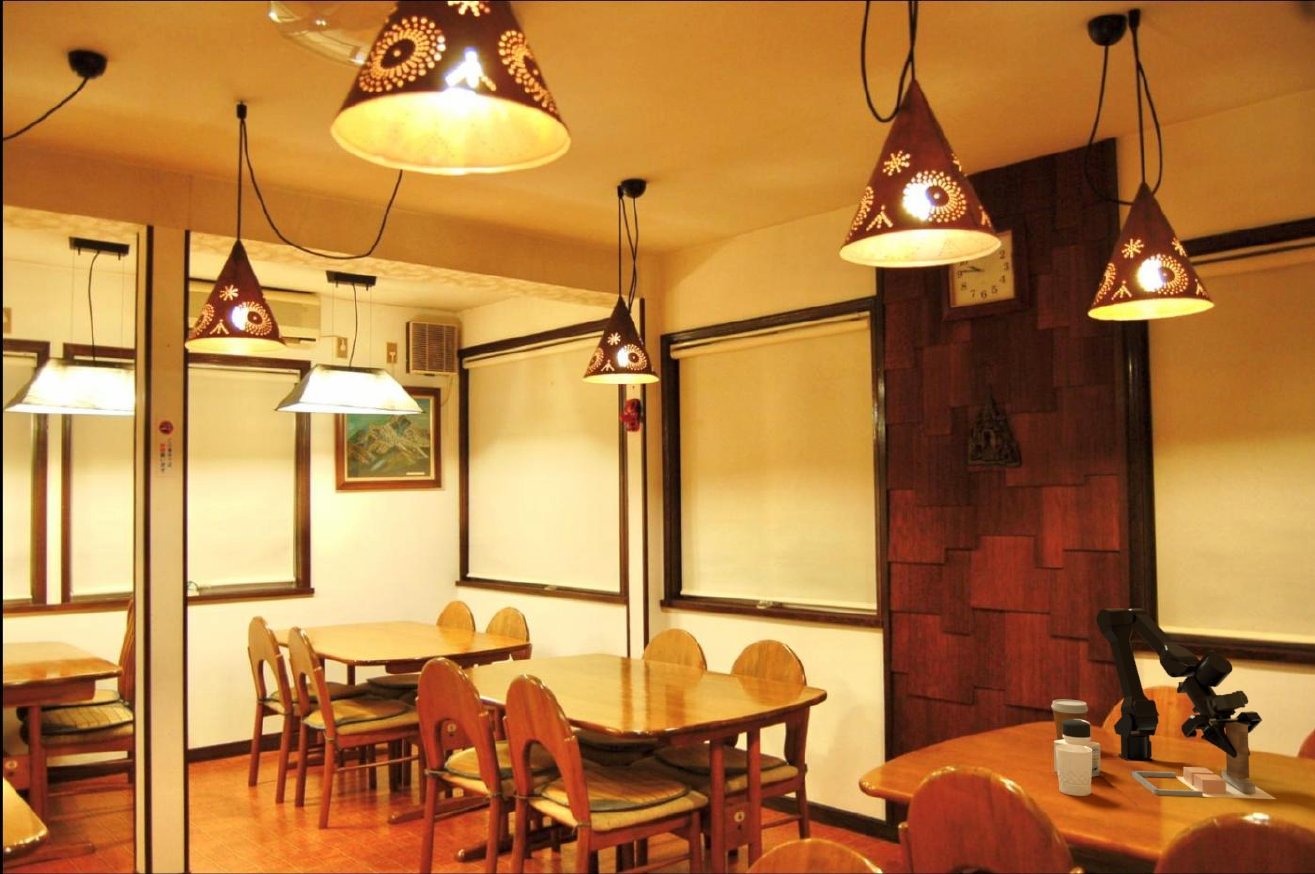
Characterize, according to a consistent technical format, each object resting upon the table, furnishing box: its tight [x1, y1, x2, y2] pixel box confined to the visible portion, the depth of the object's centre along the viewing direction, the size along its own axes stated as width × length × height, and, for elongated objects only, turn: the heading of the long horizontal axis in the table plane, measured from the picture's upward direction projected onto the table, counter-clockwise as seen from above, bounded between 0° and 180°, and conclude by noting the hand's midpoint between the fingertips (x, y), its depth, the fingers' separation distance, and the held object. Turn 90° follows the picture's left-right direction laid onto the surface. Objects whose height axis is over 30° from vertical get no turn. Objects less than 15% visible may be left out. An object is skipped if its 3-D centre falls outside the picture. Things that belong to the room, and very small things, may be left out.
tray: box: [1130, 770, 1204, 798], centre depth 241 cm, size 10×17×2 cm, turn 173°
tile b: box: [1182, 766, 1215, 786], centre depth 244 cm, size 5×5×3 cm
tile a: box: [1194, 774, 1226, 794], centre depth 237 cm, size 5×5×3 cm
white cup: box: [1056, 744, 1092, 797], centre depth 240 cm, size 8×8×10 cm
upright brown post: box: [1221, 722, 1256, 793], centre depth 240 cm, size 4×12×14 cm, turn 173°
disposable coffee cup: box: [1050, 699, 1089, 740], centre depth 285 cm, size 10×10×12 cm
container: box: [1053, 719, 1102, 777], centre depth 257 cm, size 8×8×13 cm
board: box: [1176, 776, 1277, 800], centre depth 240 cm, size 16×17×1 cm
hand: (1242, 756), depth 239 cm, fingers closed on upright brown post, 3 cm apart
